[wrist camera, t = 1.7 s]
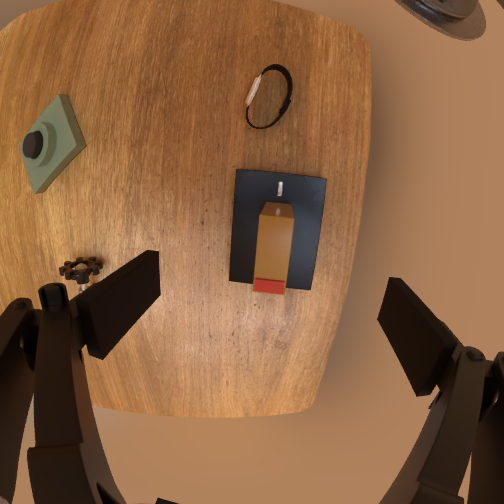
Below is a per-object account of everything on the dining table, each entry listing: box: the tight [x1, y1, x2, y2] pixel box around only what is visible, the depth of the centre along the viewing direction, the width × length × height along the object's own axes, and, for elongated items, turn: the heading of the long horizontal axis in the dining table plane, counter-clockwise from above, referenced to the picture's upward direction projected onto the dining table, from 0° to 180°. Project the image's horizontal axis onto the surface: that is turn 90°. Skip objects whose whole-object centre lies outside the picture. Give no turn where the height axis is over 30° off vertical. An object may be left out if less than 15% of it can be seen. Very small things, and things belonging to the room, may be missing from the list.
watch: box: [245, 64, 293, 129], centre depth 25 cm, size 8×5×4 cm, turn 160°
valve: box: [59, 257, 103, 348], centre depth 33 cm, size 7×7×12 cm
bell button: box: [23, 132, 43, 158], centre depth 26 cm, size 4×4×2 cm
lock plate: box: [229, 169, 327, 290], centre depth 29 cm, size 12×9×3 cm
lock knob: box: [253, 202, 295, 295], centre depth 24 cm, size 6×2×8 cm, turn 175°
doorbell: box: [19, 94, 86, 194], centre depth 28 cm, size 12×10×4 cm
